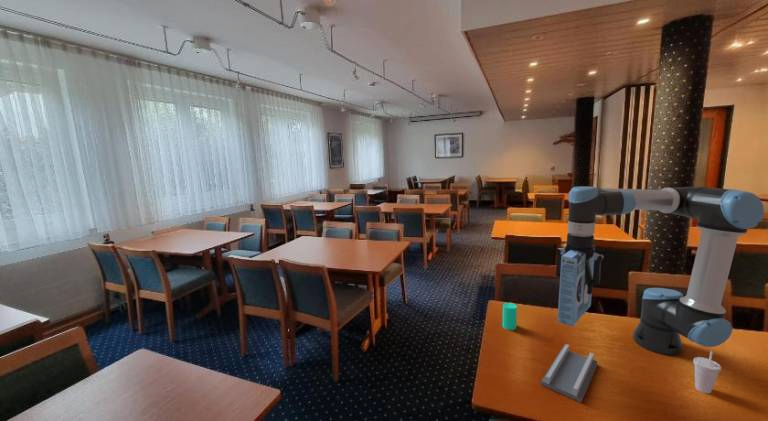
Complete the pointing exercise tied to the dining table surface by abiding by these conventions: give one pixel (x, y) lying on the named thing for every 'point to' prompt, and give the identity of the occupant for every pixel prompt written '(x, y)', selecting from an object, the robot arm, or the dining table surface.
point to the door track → (570, 374)
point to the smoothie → (705, 373)
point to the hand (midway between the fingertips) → (575, 299)
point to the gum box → (573, 287)
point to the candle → (509, 316)
